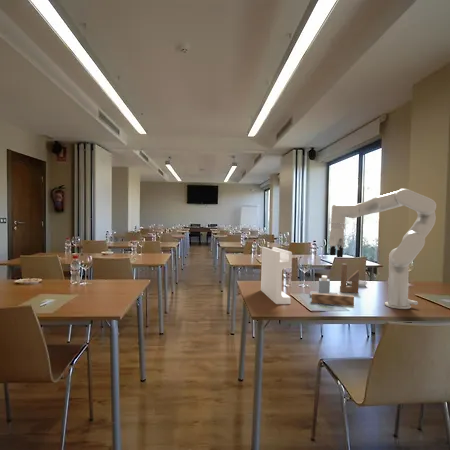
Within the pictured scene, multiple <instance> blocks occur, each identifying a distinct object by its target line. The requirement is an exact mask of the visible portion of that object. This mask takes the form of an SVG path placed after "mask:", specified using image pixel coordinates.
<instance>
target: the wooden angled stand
mask: <svg viewBox="0 0 450 450" xmlns="http://www.w3.org/2000/svg"><path fill="white" fill-rule="evenodd" d="M359 277H360V270H359V269H357V270H356V271H355V272H353V274H351V275H350V276H348V264H347V263H341V264H340V285H339V291H340V293H353V294H358V293H359V286H360V285H359V282H360V278H359ZM347 282H351V285H348V283H347Z"/></svg>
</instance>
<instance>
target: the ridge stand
mask: <svg viewBox="0 0 450 450" xmlns="http://www.w3.org/2000/svg"><path fill="white" fill-rule="evenodd" d="M330 280H331V279H330V278H328V275H324V274H323V275H321V278H320V277H319V278H318V291H314V290H310V292H309V298H311V299H312V293H326V294H338V292H332V291H331V292H330V290H331V289H330V288H331V287H330V286H331V283H330V282H331V281H330Z"/></svg>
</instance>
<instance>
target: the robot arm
mask: <svg viewBox="0 0 450 450" xmlns="http://www.w3.org/2000/svg"><path fill="white" fill-rule="evenodd" d="M399 207H406V208H409V209H410V210H413V211H415V212H416V214H417V217H416V219H415V221H414V222H413V224H412V226H411V227H410V228H409V229H408V231H407V232H406V233H405V234H404V235H403V237H402V239H401V242H400V243H399V244H398V246H397V247H396V248H393V249H391V251H390V252H389V253H388V254H389V255H388V285H387V286H388V287H387V288H388V291H387V301H385V302H384V306H386V307H388V308H393V309H397V310H409V309H411V308H412V305H414V306H416V305H419V302H418V301H417V300H411V299H409V298H408V297H409V275H410V274H409V273H410V272H409V271H410V270H409V269H410V268H409V265H410V264H411V263H412V262H414V260H415V259H416V257H417V256H418V255H419V253H420V252H421V251H422V250H423V248H424V247H425V245H426V238H427V236H428V235H429V234H430V232H431V231H432V229H433V227H434V226H435V224H436V220H437V219H436V216H437V215H436V212H435V211H436V209H437V203H436V201H435V200H434V199H432V198H430V197H429V196H426V195H423V194H420V193H418V192H416V191H413V190H411V189H408V188H400V189H399V190H396V191H393V192H390V193H386V194H383V195H382V194H381V195H378V196H375V197H373V198H372V199H369V200H366V201H364V202H360V203H357V204H333V205H332V207H331V216H330V217H331V218H330V231H329V232H330V233H329V239H328V240H329V241H328V244H329V256H336V257H337V258H343V257H344V256H343V255H344V246H345V229H346V228H345V227H346V225H345V224H346V218H349V219H357V218H359V217H364V216H367V215H372V214H377V213H382V212H385V211H388V210H392V209H396V208H399Z"/></svg>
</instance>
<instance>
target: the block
mask: <svg viewBox="0 0 450 450" xmlns="http://www.w3.org/2000/svg"><path fill="white" fill-rule="evenodd" d="M292 264H293V252H292V251H290V250H286V249H283V248H279V247H276V246H272V247H271V248H269V247H265V246H261V269H260V270H261V272H260V273H261V274H260V276H261V277H260V291H261V292H262V293H263V294H264V295H266V296H267V298H268V299H270V300H271V301H272V302H273V303H274V304H276V305H291V301H292V300H291V299H292V297H291V296H290V295H288V294H286V293H285V292H284V291H282V289H283V288H282V287H283V270H285V269H293V267H292Z"/></svg>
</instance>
